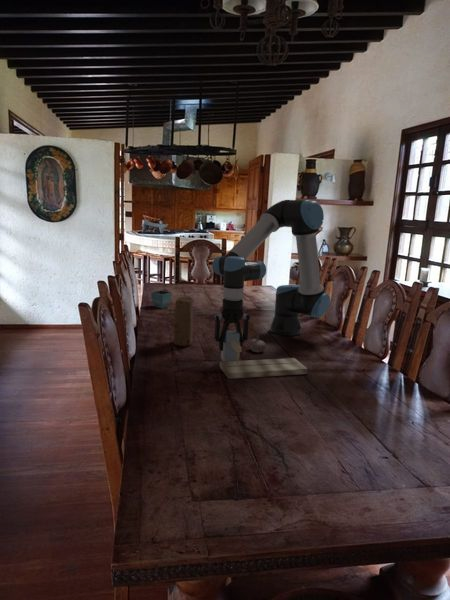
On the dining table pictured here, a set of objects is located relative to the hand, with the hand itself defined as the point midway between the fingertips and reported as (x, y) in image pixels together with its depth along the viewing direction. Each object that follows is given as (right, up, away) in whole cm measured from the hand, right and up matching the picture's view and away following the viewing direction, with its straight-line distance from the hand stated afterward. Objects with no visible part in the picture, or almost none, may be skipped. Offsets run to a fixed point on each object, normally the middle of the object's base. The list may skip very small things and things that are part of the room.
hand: (230, 358), depth 173 cm
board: (+12, -4, -6) cm, 14 cm away
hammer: (+1, -3, -3) cm, 4 cm away
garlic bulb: (+12, +1, +17) cm, 21 cm away
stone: (-20, +3, +23) cm, 31 cm away
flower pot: (-39, +18, +91) cm, 100 cm away
